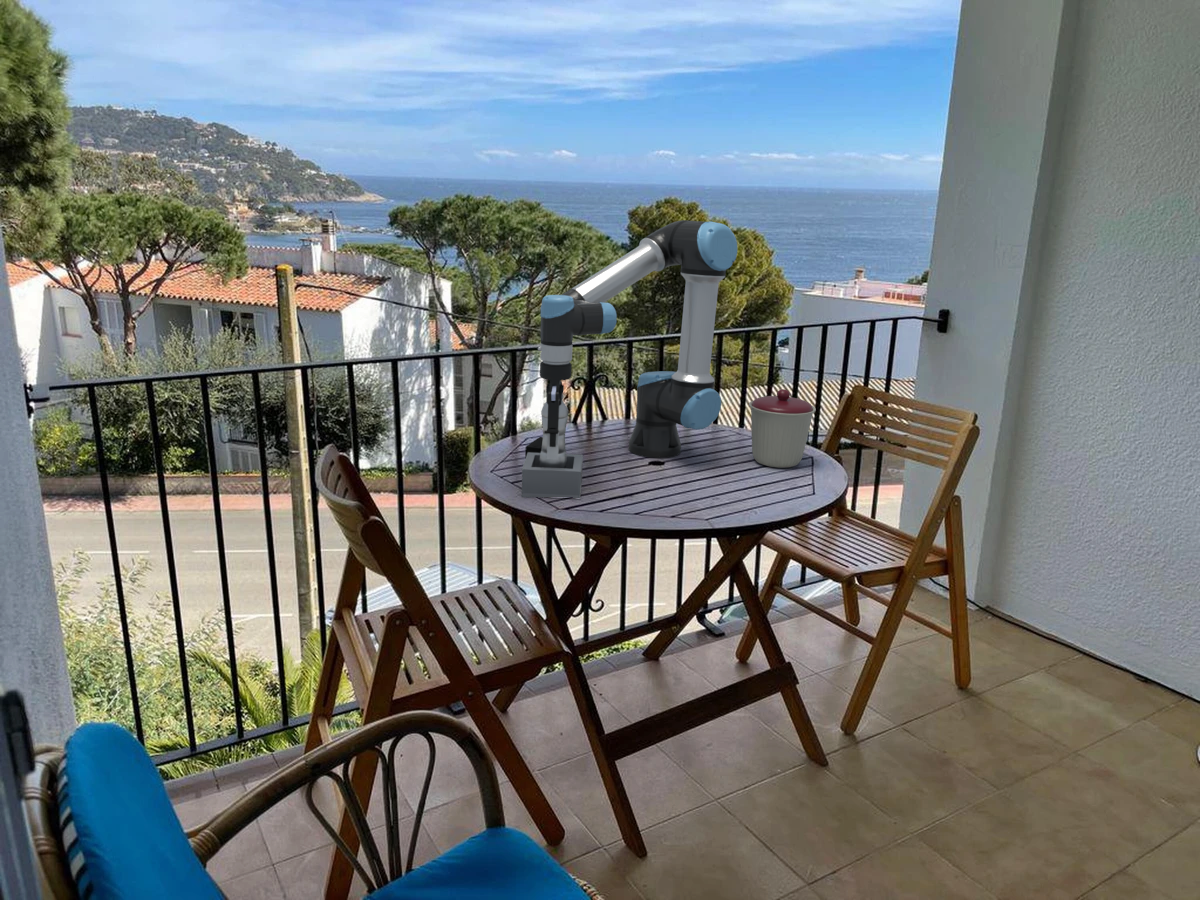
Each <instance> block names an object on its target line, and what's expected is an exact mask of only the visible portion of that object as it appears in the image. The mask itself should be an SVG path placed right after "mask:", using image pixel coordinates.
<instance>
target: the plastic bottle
mask: <svg viewBox="0 0 1200 900" xmlns="http://www.w3.org/2000/svg"><path fill="white" fill-rule="evenodd" d="M559 396H560V393H559ZM563 399H564V393H563V394H562V403H561V405H560V406H559V424H558V430H559V432H558V433H559V447H558V459H547V433H545V431H547V425H548V404H547V401H546V402H545V403H544V404H543V406H542V407H541V413H540V415H541V423H542V437H543V441H542V451H541V454H540V459H539V460H540V465H541V467H542V468H564V467H565V466H566V462H567V456H566V454H567V451H566V433H567V431H566V430H567V424H568V417H569V410H568V407H567V405H566V404H565V402H564V401H563Z"/></svg>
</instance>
